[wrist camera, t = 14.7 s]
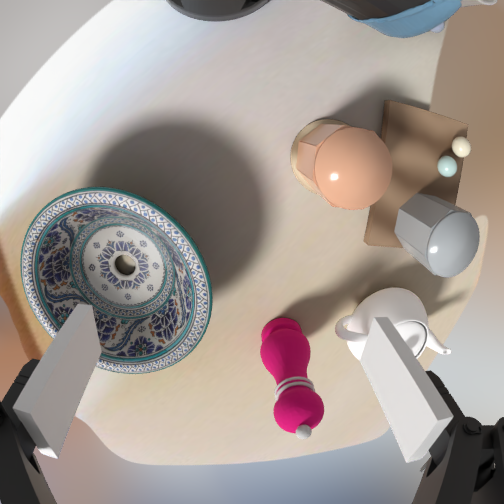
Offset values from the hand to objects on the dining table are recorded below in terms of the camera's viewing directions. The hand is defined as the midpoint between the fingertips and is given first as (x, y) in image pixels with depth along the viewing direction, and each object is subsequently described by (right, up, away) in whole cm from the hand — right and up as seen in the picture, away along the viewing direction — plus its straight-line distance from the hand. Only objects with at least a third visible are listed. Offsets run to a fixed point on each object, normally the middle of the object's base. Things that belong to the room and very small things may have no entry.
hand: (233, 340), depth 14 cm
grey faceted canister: (+25, +8, +28) cm, 38 cm away
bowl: (-17, +3, +29) cm, 34 cm away
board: (+24, +14, +27) cm, 39 cm away
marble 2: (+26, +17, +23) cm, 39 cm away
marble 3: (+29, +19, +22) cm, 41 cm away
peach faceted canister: (+11, +16, +25) cm, 31 cm away
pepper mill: (+5, -9, +35) cm, 37 cm away
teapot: (+23, -7, +36) cm, 43 cm away
